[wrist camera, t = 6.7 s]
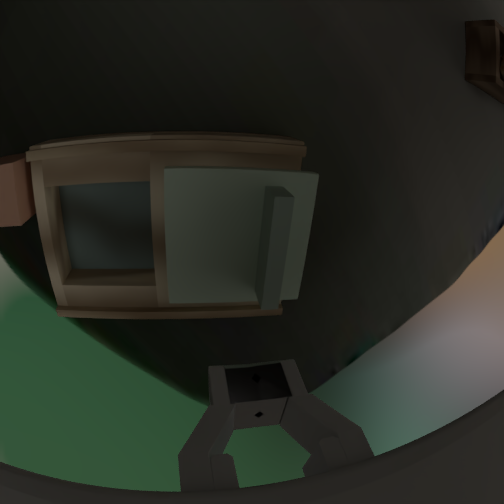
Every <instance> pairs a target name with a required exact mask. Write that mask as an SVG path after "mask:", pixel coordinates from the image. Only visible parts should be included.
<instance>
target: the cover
mask: <svg viewBox="0 0 504 504" xmlns="http://www.w3.org/2000/svg"><path fill="white" fill-rule="evenodd" d="M318 178H319V174H318V173H316V172H312V171H300V170H286V169H270V168H251V167H223V166H165V168H164V214H165V243H166V263H167V279H168V292H169V303H220V302H248V301H258V302H259V305H260V308H261V310H271V309H278V306H279V300H289V299H298V294H299V289H300V284H301V279H302V274H303V268H304V263H305V258H306V252H307V247H308V241H309V235H310V229H311V223H312V217H313V211H314V205H315V198H316V192H317V185H318Z"/></svg>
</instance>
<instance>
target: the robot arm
mask: <svg viewBox="0 0 504 504" xmlns="http://www.w3.org/2000/svg"><path fill="white" fill-rule="evenodd" d="M208 375H209V397H210V406H208V408H207V410H206V411H205V413H204V415H203V416H202V418H201V419H200V421H199V423H198V424H197V426H196V428H195V429H194V431H193V432H192V434H191V436H190V437H189V439H188V440H187V442H186V443H185V445H184V447H183V448H182V450H181V451H180V453H179V455H178V460H179V473H180V485H181V492H160V491H139V490H127V489H115V488H107V487H100V486H93V485H87V484H81V483H75V482H71V481H66V480H61V479H57V478H53V477H48V476H45V475H41V474H37V473H33V472H30V471H26V470H23V469H20V468H17V467H14V466H11V465H8V464H5V463H2V462H0V504H504V390H503V391H501V392H500V393H498V394H497V395H495V396H494V397H492V398H491V399H489V400H488V401H486V402H485V403H483V404H481V405H480V406H478V407H477V408H475V409H473V410H472V411H470V412H468V413H467V414H465V415H463V416H462V417H460V418H458V419H456V420H454V421H452V422H451V423H449V424H447V425H445V426H443V427H441V428H439V429H437V430H435V431H433V432H431V433H429V434H427V435H425V436H423V437H421V438H419V439H416V440H414V441H412V442H410V443H407V444H405V445H403V446H400V447H398V448H396V449H393V450H391V451H388V452H385V453H383V454H380V455H377V456H374V454H373V452H372V450H371V448H370V446H369V444H368V441H367V439H366V437H365V435H364V433H363V431H362V429H361V427H359V426H358V425H356V424H355V423H353V422H352V421H350V420H349V419H347V418H346V417H344V416H343V415H341V414H340V413H338V412H337V411H336V410H334V409H333V408H331V407H330V406H328V405H327V404H326V403H324V402H323V401H321V400H320V399H318V398H317V397H316V396H314V395H313V394H308V393H307V391H306V388H305V386H304V383H303V381H302V378H301V375H300V373H299V370H298V368H297V365H296V363H295V361H294V360H293V359H291V360H283V361H271V362H262V363H253V364H245V365H224V366H209V367H208ZM277 424H280V426H281V427H282V428H283V429H284V430H285V431H286V432H287V433H289V435H291V436H292V437H293V438H294V439H295V440H296V441H297V442H298V443H299V444H300V445H301V446H302V447H304V448H305V449H306V450H307V451H308V452H309V453H310V454H311V456H310V458H309V459H308V460H307V462H306V464H305V465H304V466H303V472H304V474H305V477H303V478H298V479H294V480H289V481H283V482H278V483H272V484H266V485H260V486H252V487H245V488H239V484H238V480H237V476H236V470H235V465H234V460H233V457H232V456H231V455H229V454H223V451H224V449H225V447H226V445H227V443H228V441H229V439H230V437H231V435H232V433H233V430H236V429H244V428H252V427H260V426H269V425H277Z"/></svg>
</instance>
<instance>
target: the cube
mask: <svg viewBox="0 0 504 504" xmlns="http://www.w3.org/2000/svg"><path fill="white" fill-rule="evenodd" d="M35 213H36V207H35V200H34V192H33V183H32V174H31V162H30V161H29V162H26V153H21V154H15V155H9V156H4V157H1V158H0V227H6V226H21V225H23V224H24V223H25V222H26V221H27V220H28V219H29V218H31V217H32V216H33V215H34V214H35Z"/></svg>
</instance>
